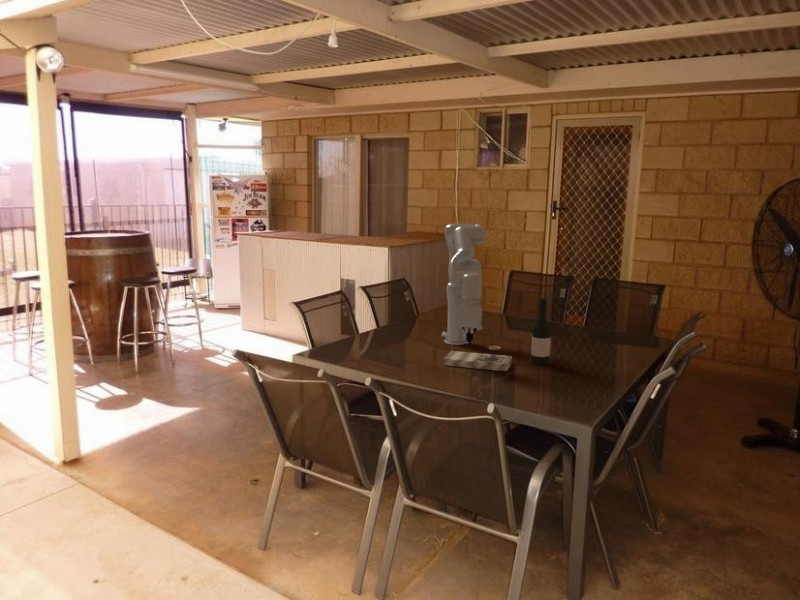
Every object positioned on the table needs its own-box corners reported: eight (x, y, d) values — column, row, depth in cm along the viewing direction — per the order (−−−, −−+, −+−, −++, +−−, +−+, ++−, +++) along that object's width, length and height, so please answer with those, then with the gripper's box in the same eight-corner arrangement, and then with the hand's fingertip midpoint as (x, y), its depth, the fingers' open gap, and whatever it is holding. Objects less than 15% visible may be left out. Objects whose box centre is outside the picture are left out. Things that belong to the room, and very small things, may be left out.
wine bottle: (536, 366, 267) (539, 299, 262) (527, 361, 275) (530, 296, 270) (553, 365, 269) (556, 298, 264) (543, 360, 277) (546, 295, 272)
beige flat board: (443, 365, 269) (443, 358, 268) (451, 357, 282) (451, 350, 281) (507, 371, 260) (507, 364, 259) (511, 362, 273) (512, 356, 272)
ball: (493, 352, 266) (500, 361, 266) (492, 351, 271) (499, 360, 271) (484, 358, 266) (490, 368, 266) (483, 358, 271) (489, 367, 271)
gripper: (452, 301, 266) (451, 342, 270) (485, 304, 261) (484, 345, 265) (456, 298, 273) (455, 337, 277) (489, 301, 268) (487, 340, 272)
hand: (469, 341), depth 271 cm, fingers closed
